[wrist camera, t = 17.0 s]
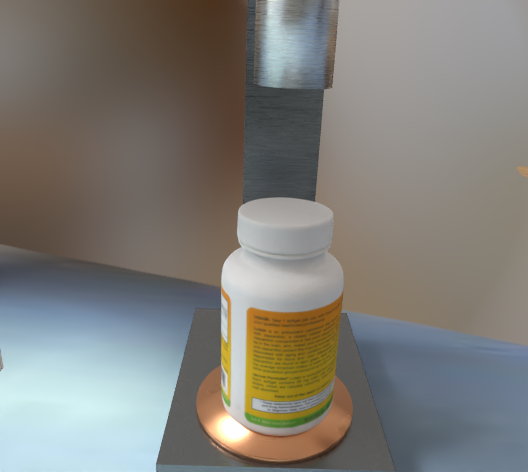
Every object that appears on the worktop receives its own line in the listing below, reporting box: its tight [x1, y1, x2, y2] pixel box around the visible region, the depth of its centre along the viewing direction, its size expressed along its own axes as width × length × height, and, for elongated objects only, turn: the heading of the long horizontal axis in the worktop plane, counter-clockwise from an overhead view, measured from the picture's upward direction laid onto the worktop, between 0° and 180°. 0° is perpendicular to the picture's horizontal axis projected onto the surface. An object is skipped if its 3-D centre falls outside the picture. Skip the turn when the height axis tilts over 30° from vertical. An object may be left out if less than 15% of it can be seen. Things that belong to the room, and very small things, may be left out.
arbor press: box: [156, 0, 396, 472], centre depth 21 cm, size 14×10×35 cm
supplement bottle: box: [221, 197, 344, 436], centre depth 22 cm, size 5×5×10 cm
